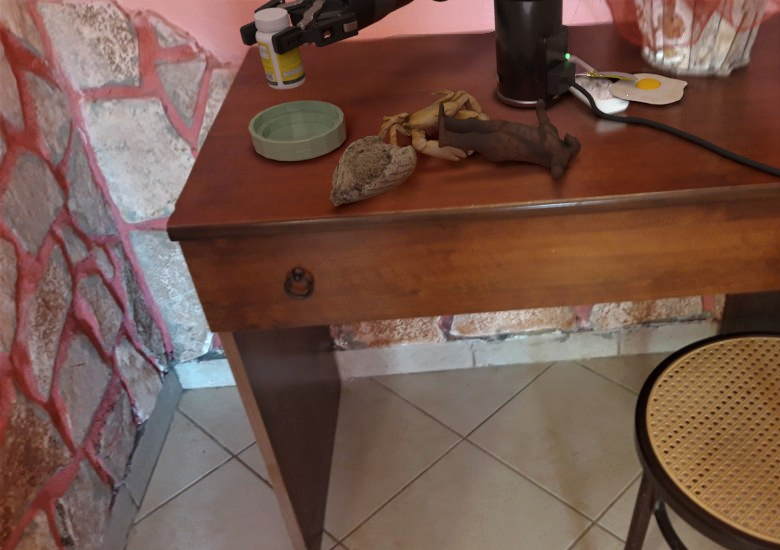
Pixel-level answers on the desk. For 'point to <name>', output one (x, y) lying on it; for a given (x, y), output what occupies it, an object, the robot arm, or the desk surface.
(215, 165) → the desk surface
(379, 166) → the seashell
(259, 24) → the supplement bottle
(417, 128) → the crab model
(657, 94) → the cracked egg
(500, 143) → the figurine
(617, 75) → the decorative knife
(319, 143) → the dish
